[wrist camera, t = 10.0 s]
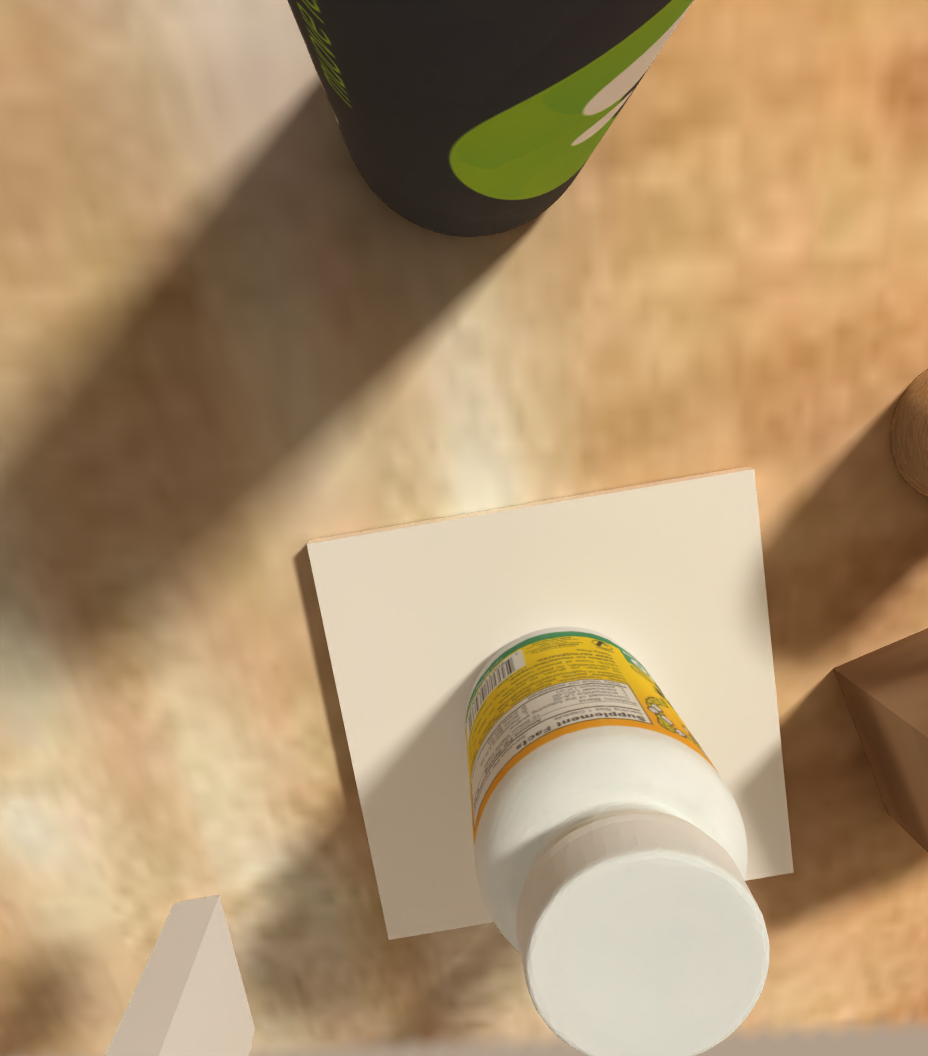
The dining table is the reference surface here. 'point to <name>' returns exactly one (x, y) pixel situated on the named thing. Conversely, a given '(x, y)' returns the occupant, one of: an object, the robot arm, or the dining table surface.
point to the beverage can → (479, 96)
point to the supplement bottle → (610, 850)
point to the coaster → (534, 604)
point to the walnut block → (894, 725)
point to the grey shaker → (912, 434)
